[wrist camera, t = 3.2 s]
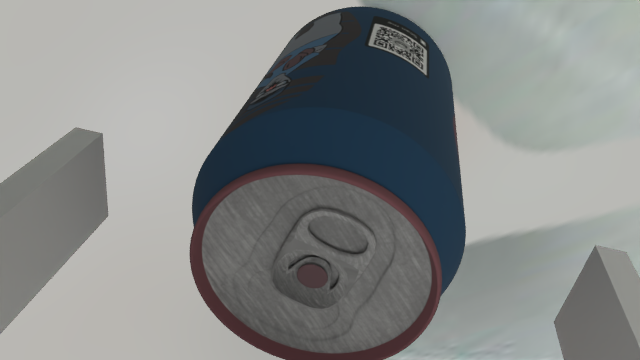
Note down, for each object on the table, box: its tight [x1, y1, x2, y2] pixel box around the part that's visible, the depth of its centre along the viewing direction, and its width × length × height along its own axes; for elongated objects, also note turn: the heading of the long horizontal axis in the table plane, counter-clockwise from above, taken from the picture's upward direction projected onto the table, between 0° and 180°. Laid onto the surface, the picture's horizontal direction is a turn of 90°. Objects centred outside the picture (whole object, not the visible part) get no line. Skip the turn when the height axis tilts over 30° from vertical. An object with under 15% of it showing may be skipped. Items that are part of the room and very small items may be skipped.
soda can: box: [190, 7, 466, 360], centre depth 17 cm, size 7×7×12 cm
